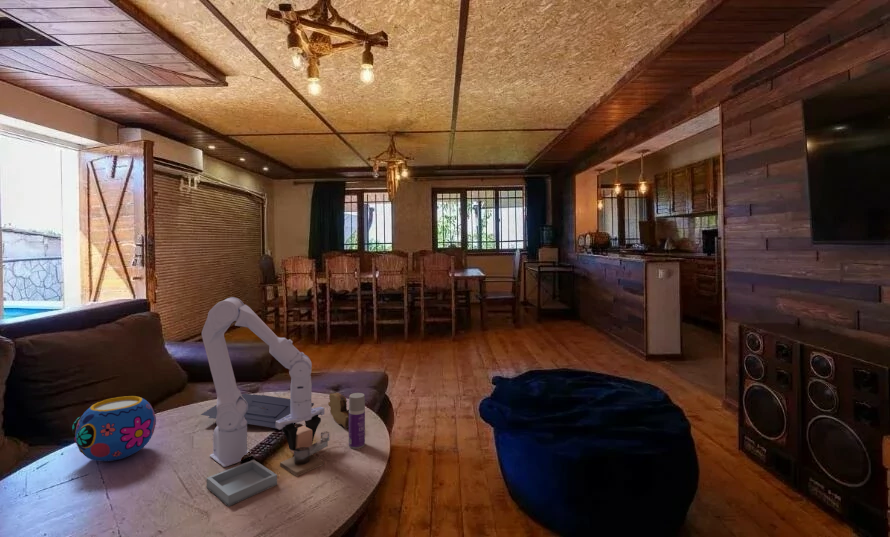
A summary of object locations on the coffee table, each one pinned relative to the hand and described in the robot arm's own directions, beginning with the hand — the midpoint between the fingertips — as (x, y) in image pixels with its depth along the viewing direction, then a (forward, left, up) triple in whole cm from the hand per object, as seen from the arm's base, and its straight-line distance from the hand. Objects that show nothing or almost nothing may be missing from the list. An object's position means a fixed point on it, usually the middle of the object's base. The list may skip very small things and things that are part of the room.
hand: (301, 445), depth 121 cm
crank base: (+8, -4, -1) cm, 9 cm away
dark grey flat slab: (-34, +5, -2) cm, 34 cm away
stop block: (0, 0, -2) cm, 2 cm away
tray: (+6, -19, -1) cm, 20 cm away
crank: (+7, -1, 0) cm, 7 cm away
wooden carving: (-7, +19, -2) cm, 21 cm away
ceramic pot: (-36, -34, -2) cm, 50 cm away
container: (+10, +13, -2) cm, 16 cm away
